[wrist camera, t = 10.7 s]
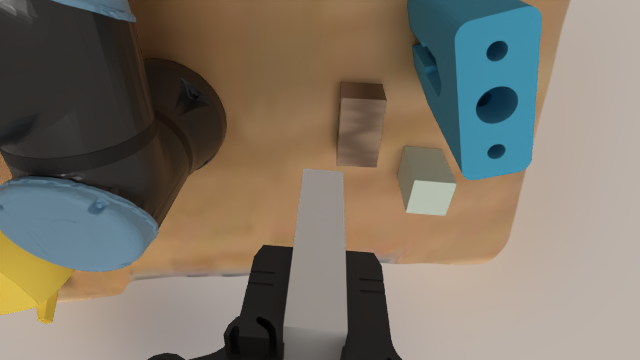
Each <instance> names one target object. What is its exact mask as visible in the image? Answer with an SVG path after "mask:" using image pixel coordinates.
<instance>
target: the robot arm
mask: <svg viewBox="0 0 640 360" xmlns="http://www.w3.org/2000/svg"><path fill="white" fill-rule="evenodd" d="M135 22H137V21H136V17H135V16H134V14H132V13H131V9H130V6H129V2H128V0H0V152H1V154H2V156H3V158H4V160H5V162H6V164H7V166H8V167H9V169H10V171H11V174H12V179H11V180H8V181H6V182H5V183H3V184H2V185H0V230H1V231H2V233H3V234H4V235H5V236H6V237H7V238H8V239H10V240H11V241H12V242H13V243H15V244H16V245H17V246H19V247H20V248H22V249H23V250H25V251H27V252H28V253H30V254H32V255H34V256H36V257H38V258H41V259H43V260H46V261H48V262H50V263H53V264H56V265H59V266H62V267H66V268H70V269H75V270H81V271H91V272H105V271H113V270H117V269H121V268H123V267H126V266H128V265H130V264H131V263H132V262H134V261H136V260H137V259H138V258H139V257H140V256H141V255H142V254H143V253H144V251H145V250H146V249H147V247H148V246H149V245H150V243H151V242H152V241H153V240H154V239H155V238H156V236H157V234H158V230H159V227H160V226H161V224H162V222H163V220H164V218H165V217H166V215H167V213H168V211H169V209H170V208H171V206H172V204H173V202H174V200H175V199H176V197H177V195H178V193H179V191H180V190H181V188H182V186H183V184H184V182H185V181H186V179H187V177H188V176H189V175H190V174H192V173H193V172H194V171H195V170H198V169H200V168H201V167H203V166H205V165H206V164H207V163H209V162H210V161H211V160H212V159H213V158H214V156H215V155H216V154H217V152H218V150H219V149H220V147H221V145H222V143H223V140H224V137H225V134H226V116H225V112H224V109H223V106H222V104H221V101H220V99H219V98H218V96H217V94H216V93H215V91H214V90H213V89H212V88H211V86H210V85H209V84H208V83H207V82H206V81H205V80H204V79H203V78H201V77H200V76H199V75H198V74H196V73H195V72H193V71H192V70H190V69H188V68H187V67H185V66H183V65H180V64H178V63H175V62H172V61H168V60H163V59H144V60H143V58H142V53H141V49H140V44H139V40H138V36H137V31H136V27H135ZM224 342H225V346H224V347H223V348H221V349H220V350H218V351H217V352H215V353H212V354H209V355H206V356H202V357H198V358H194V359H190V360H402V359H401V358H400V357H399V355H398V354H397V353H396V351H395V349H394V347H393V344H392V340H391V335H390V328H389V319H388V312H387V304H386V296H385V289H384V283H383V273H382V266H381V264H380V262H379V261H378V259H377V258H376V256H375V254H374V253H369V252H357V251H345V215H344V179H343V172H339V171H327V170H315V169H303V177H302V185H301V193H300V201H299V208H298V216H297V224H296V232H295V239H294V247H284V246H271V245H263V246H262V248H261V249H260V250H259V251H258V253H257V254H256V255H255V256H254V260H253V264H252V268H251V273H250V276H249V281H248V285H247V289H246V293H245V297H244V302H243V305H242V310H241V314H240V316H238V317H236V318H235V319H234V320H233V321H232V322H231V323H230V324H229V325H228V327H227V329H226V331H225V333H224ZM148 360H185V359H184V358H182V357H180V356H179V355H177V354H170V353H163V354H159V355H155V356H153V357H151V358H149V359H148Z"/></svg>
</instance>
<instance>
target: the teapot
mask: <svg viewBox="0 0 640 360" xmlns="http://www.w3.org/2000/svg"><path fill="white" fill-rule="evenodd" d="M74 271H75V269H70V268H66V267H62V266H59V265H56V264H53V263H50V262H48V261H46V260H43V259H41V258H38V257H36V256H34V255H32V254H30V253H28V252H27V251H25V250H23V249H22V248H20V247H19V246H17V245H16V244H15V243H13V242H12V241H11V240H10V239H8V238H7V237H6V236H5V235H4V234H3V233H2V231H1V230H0V315H2V314H9V313H14V312H18V311H22V310H26V309H31V308H34V307H36V309H37V315H38V321H41V322H43V323H45V324H48V323H52V321H53V317H54V312H55V306H56V301H57V296H58V291H59V288H60V287H61V286H62V285H63V284H64V283H65V282H66V281H67V280H68V279H69V277H70V276H71V275H72V274H73V272H74Z"/></svg>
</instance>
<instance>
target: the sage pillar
mask: <svg viewBox="0 0 640 360" xmlns="http://www.w3.org/2000/svg"><path fill="white" fill-rule="evenodd" d="M397 177H398V181H399V186H400V190H401V194H402V198H403V203H404V207H405V211H406V212H407V213H419V214H431V215H443V216H445V215H446V212H447V210H448V207H449V204H450V201H451V199H452V196H453V193H454V190H455V187H456V185H457V183H456V181H455V178H454V176H453V174H452V172H451V170H450V167H449V165H448V163H447V161H446V159H445V156H444V154H443V152H442V150H441V149H435V148H423V147H412V146H404V150H403V154H402V158H401V163H400V167H399V171H398V175H397Z"/></svg>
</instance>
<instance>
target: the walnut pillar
mask: <svg viewBox="0 0 640 360" xmlns="http://www.w3.org/2000/svg"><path fill="white" fill-rule="evenodd" d="M385 107H386V96H385V93H384V89H383V86H382V84H367V83H346V82H341V92H340V106H339V120H338V133H337V166H357V167H377V160H378V154H379V147H380V140H381V134H382V127H383V120H384V114H385Z"/></svg>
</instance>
